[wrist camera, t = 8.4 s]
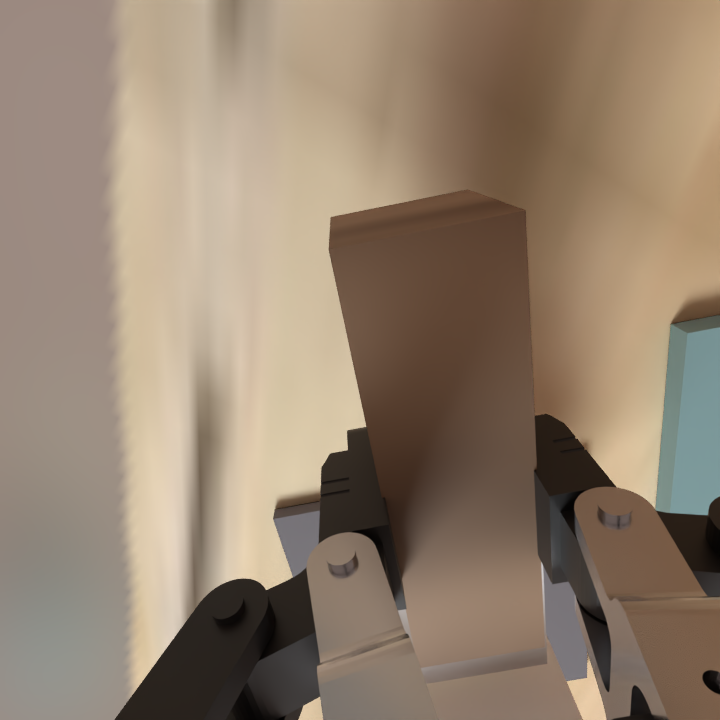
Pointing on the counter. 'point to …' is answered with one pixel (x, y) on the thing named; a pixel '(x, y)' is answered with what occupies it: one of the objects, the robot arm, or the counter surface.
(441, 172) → the counter surface
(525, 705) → the tile
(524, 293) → the brown long block
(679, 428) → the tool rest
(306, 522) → the mat
